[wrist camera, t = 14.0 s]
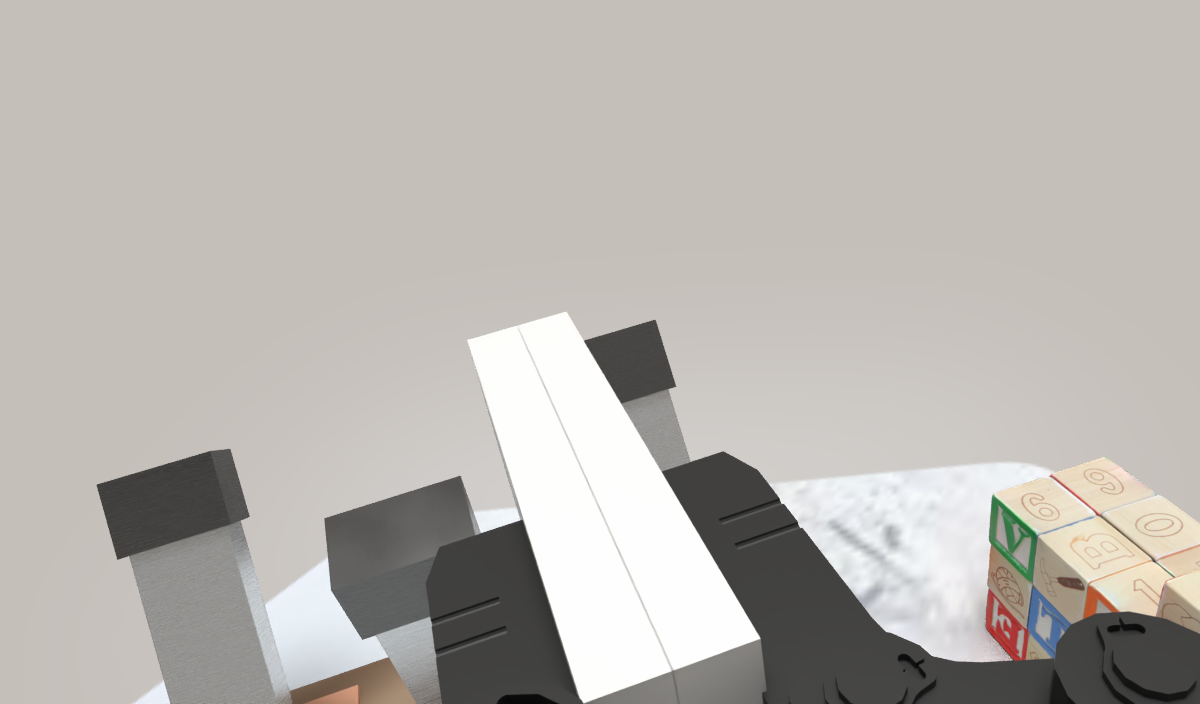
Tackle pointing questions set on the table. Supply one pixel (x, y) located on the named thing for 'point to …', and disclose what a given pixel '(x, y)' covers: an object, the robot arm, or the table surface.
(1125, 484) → the stack of blocks
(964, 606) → the table surface
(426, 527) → the lever middle
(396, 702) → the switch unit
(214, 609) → the lever
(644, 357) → the lever
